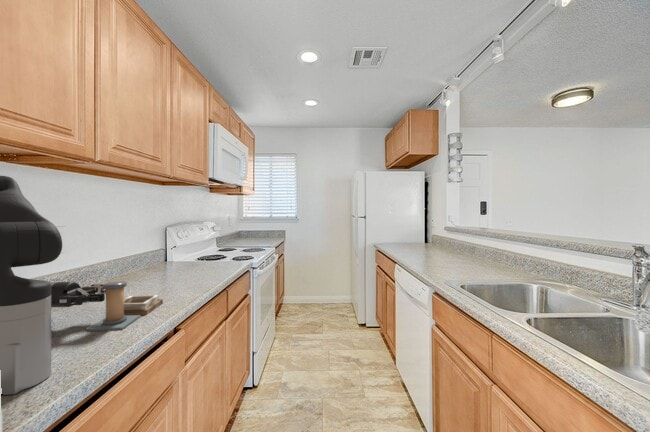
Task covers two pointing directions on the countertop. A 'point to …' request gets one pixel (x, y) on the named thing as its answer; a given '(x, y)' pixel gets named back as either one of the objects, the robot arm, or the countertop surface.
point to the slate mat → (120, 326)
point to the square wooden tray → (141, 304)
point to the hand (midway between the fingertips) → (113, 293)
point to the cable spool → (114, 303)
